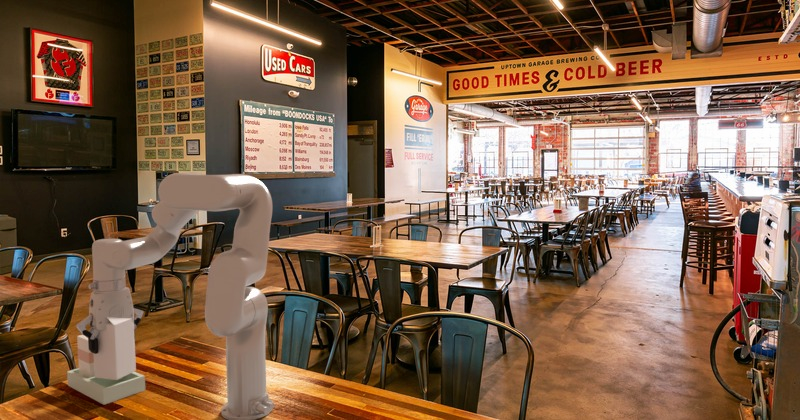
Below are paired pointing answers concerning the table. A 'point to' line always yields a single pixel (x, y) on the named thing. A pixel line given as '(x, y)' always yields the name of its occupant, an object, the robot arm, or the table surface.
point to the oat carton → (85, 358)
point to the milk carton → (115, 349)
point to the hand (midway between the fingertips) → (112, 347)
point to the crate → (106, 386)
